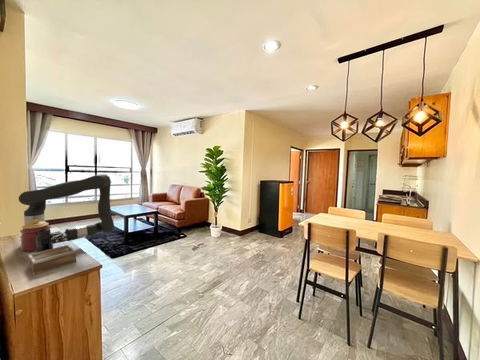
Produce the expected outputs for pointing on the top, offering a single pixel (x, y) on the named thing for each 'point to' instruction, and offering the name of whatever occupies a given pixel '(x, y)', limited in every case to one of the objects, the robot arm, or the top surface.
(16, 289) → the top surface
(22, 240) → the canister
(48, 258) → the open rectangular tray
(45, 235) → the supplement bottle
